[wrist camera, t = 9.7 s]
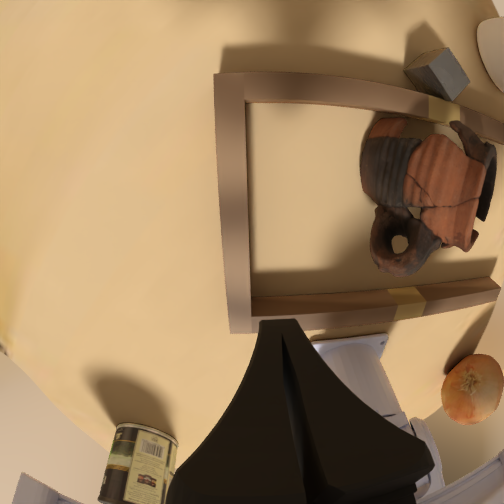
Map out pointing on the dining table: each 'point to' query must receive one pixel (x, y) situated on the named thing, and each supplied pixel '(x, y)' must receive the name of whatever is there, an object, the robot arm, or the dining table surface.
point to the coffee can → (139, 466)
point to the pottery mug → (425, 191)
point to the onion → (472, 389)
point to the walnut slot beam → (236, 201)
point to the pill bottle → (492, 48)
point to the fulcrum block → (438, 74)
